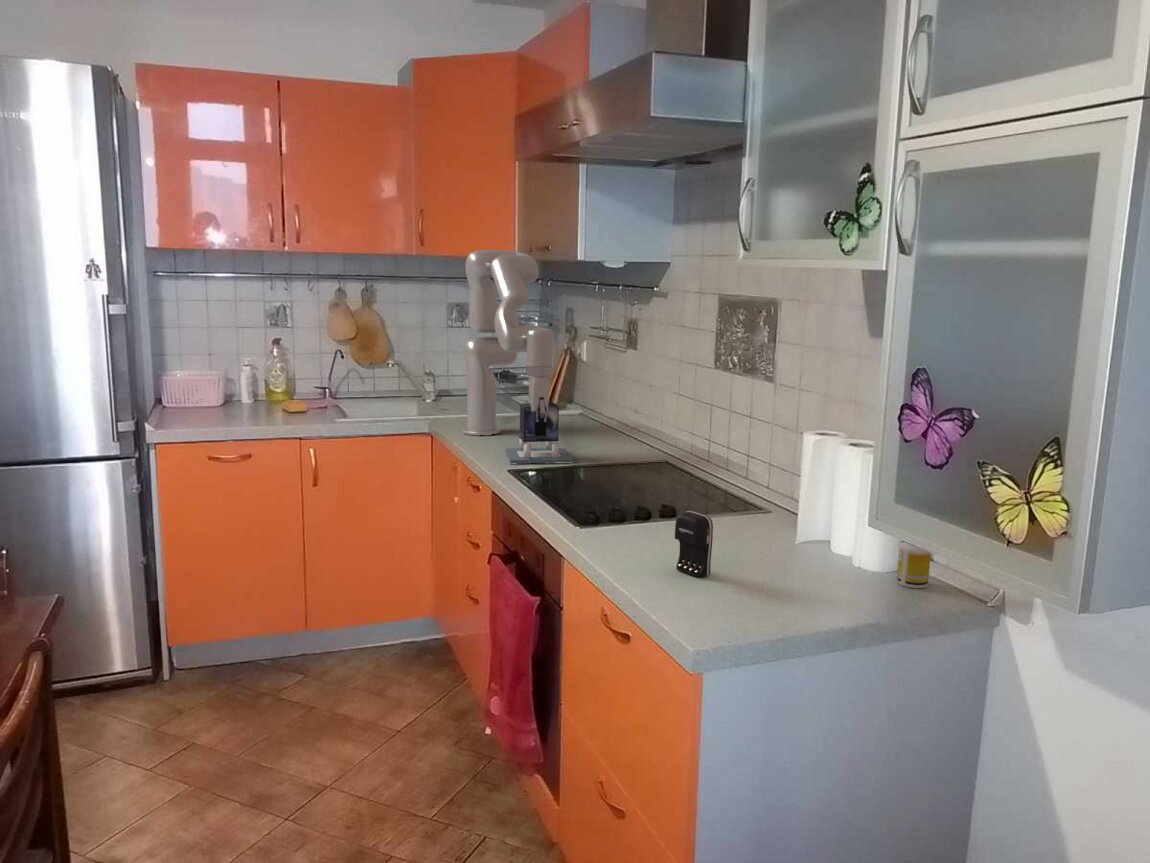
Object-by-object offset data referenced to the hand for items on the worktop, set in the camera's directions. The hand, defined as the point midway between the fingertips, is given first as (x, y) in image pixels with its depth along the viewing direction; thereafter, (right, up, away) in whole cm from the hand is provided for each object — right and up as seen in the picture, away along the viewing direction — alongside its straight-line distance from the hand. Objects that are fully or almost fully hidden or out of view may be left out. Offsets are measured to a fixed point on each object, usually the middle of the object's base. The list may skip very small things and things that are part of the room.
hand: (538, 432), depth 263 cm
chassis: (0, -7, +1) cm, 7 cm away
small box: (0, -2, 0) cm, 2 cm away
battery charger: (+32, -26, -94) cm, 102 cm away
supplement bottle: (+72, -28, -97) cm, 124 cm away
